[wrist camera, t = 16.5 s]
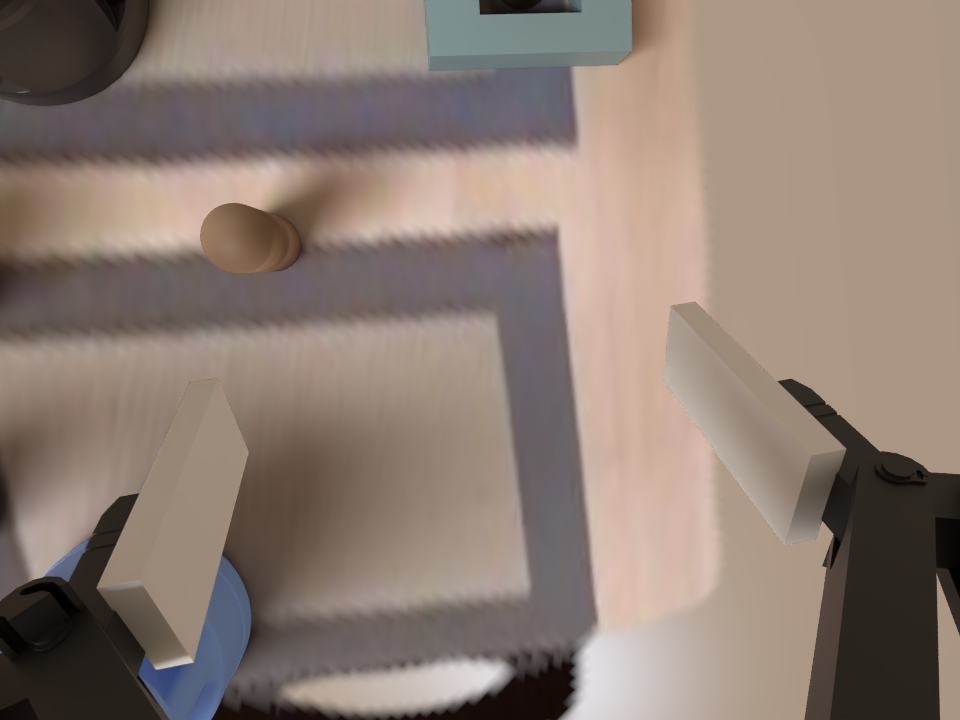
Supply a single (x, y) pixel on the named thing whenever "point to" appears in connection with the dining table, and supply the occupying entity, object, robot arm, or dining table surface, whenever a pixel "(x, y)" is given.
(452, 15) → the hollow square block
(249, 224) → the short peg
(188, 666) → the water jug
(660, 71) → the dining table surface
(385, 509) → the dining table surface
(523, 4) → the tall peg
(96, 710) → the robot arm
